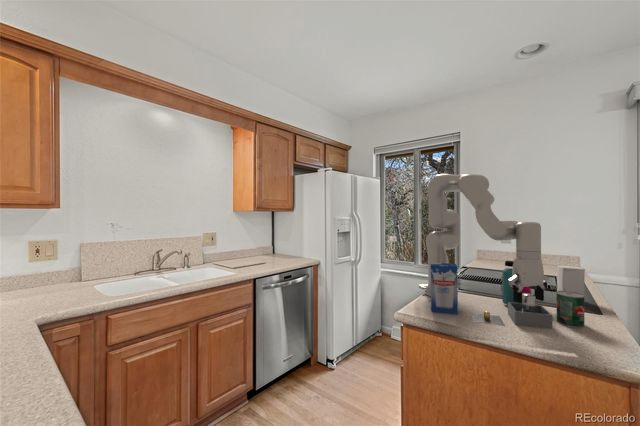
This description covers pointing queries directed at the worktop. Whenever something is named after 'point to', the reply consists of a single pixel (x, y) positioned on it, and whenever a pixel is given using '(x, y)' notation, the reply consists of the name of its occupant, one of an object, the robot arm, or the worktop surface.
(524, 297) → the silver rounded piece
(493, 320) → the stud plate
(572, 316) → the canned tomato
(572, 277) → the skincare box
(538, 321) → the bin
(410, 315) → the worktop surface
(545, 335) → the worktop surface
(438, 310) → the milk carton
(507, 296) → the beverage bottle
